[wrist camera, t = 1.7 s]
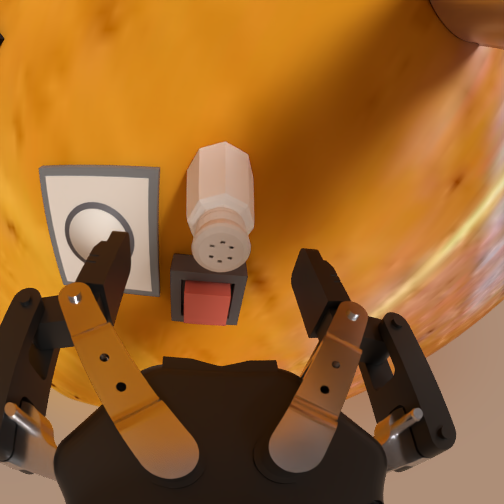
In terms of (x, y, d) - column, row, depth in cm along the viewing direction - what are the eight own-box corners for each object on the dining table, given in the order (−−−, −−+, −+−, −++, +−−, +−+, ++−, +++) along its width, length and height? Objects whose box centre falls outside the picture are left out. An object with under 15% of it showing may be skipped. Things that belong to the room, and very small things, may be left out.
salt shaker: (190, 137, 20) (164, 193, 11) (259, 145, 21) (292, 207, 12) (184, 199, 23) (164, 289, 14) (247, 205, 24) (265, 297, 15)
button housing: (245, 259, 27) (247, 276, 25) (235, 308, 31) (236, 325, 29) (173, 253, 26) (170, 270, 24) (173, 303, 30) (171, 320, 28)
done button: (230, 283, 26) (230, 296, 24) (225, 312, 28) (225, 325, 27) (185, 279, 25) (184, 292, 24) (185, 309, 27) (183, 322, 26)
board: (160, 167, 21) (157, 171, 20) (160, 293, 28) (159, 298, 28) (42, 165, 18) (37, 169, 18) (65, 281, 26) (62, 286, 26)
